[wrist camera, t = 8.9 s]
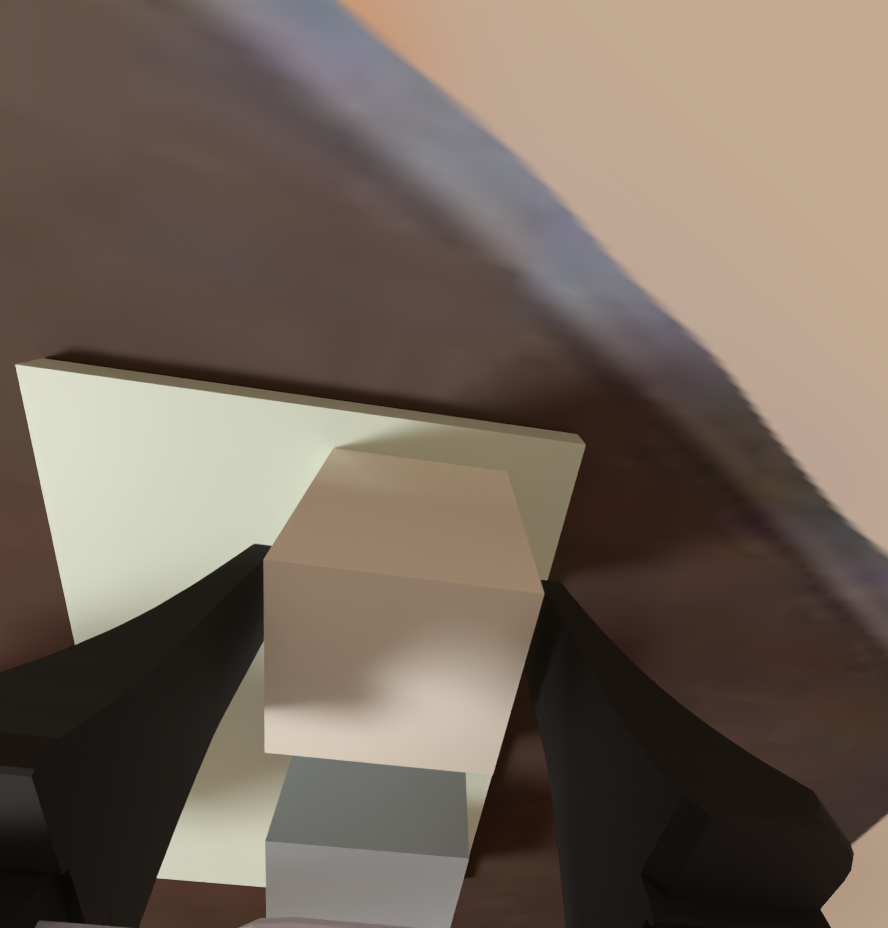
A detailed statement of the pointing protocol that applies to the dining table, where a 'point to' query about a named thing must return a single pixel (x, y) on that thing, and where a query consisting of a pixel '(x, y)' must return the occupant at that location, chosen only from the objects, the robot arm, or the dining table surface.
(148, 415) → the sage board
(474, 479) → the tan cuboid
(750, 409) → the dining table surface
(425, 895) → the matte grey-blue cube
